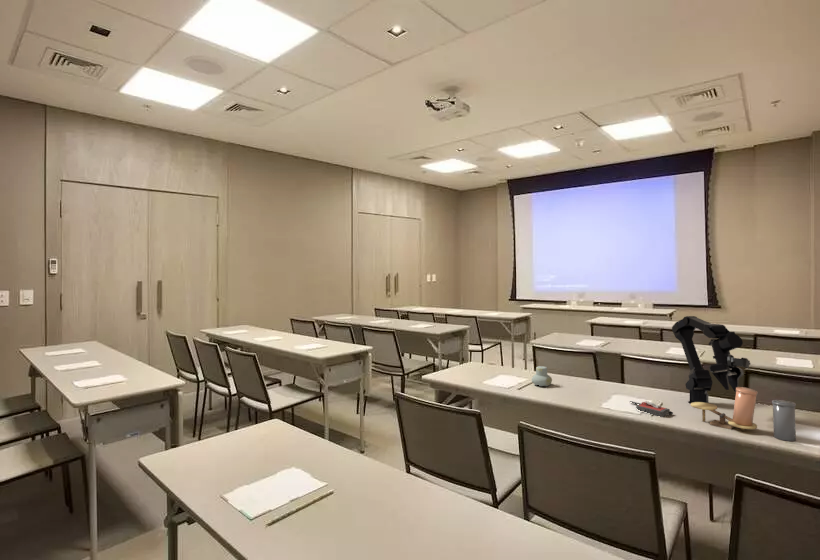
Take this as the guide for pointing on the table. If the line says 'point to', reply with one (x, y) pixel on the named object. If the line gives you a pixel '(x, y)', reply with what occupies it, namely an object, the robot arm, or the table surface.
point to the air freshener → (541, 377)
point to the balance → (722, 422)
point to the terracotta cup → (744, 406)
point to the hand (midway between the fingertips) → (732, 390)
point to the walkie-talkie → (653, 409)
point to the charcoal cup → (784, 420)
